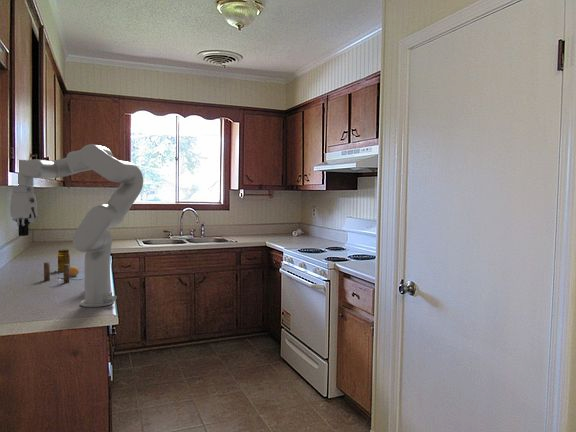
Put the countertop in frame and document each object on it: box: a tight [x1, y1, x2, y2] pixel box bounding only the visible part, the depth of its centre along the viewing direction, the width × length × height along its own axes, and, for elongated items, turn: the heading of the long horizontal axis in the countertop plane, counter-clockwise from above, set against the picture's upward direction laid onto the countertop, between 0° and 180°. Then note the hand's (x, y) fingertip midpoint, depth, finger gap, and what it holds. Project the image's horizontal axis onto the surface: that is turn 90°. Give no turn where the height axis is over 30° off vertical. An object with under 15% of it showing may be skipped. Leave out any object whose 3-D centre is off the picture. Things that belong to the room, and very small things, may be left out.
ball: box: [69, 265, 80, 277], centre depth 234 cm, size 6×6×6 cm
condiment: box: [57, 249, 71, 273], centre depth 251 cm, size 7×8×12 cm
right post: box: [62, 264, 70, 284], centre depth 219 cm, size 3×3×9 cm
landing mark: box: [56, 273, 85, 281], centre depth 234 cm, size 14×14×1 cm
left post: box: [43, 261, 51, 282], centre depth 223 cm, size 3×3×9 cm
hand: (23, 235), depth 180 cm, fingers closed
